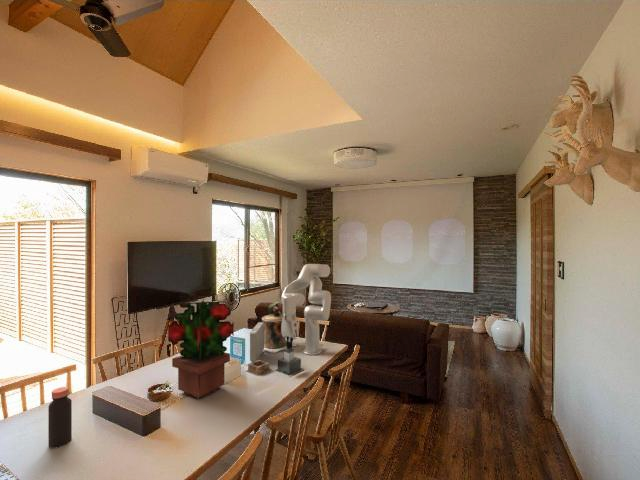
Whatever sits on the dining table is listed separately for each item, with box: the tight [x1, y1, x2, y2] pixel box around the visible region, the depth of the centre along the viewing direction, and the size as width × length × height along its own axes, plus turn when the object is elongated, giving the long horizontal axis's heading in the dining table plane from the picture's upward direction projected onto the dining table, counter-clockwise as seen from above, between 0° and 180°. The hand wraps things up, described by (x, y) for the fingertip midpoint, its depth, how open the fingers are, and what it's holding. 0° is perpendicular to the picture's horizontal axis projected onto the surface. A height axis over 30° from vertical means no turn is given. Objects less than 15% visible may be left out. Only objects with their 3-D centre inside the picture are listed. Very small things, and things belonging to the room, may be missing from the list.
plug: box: [283, 347, 295, 362], centre depth 185 cm, size 4×4×12 cm
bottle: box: [47, 386, 73, 449], centre depth 120 cm, size 7×7×20 cm
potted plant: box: [167, 298, 235, 400], centre depth 161 cm, size 22×22×45 cm
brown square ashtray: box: [245, 359, 272, 377], centre depth 184 cm, size 11×11×5 cm
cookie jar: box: [261, 300, 299, 354], centre depth 230 cm, size 25×25×32 cm
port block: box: [274, 356, 305, 378], centre depth 185 cm, size 12×12×7 cm
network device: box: [249, 321, 267, 362], centre depth 207 cm, size 26×9×20 cm, turn 179°
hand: (289, 347), depth 185 cm, fingers closed
